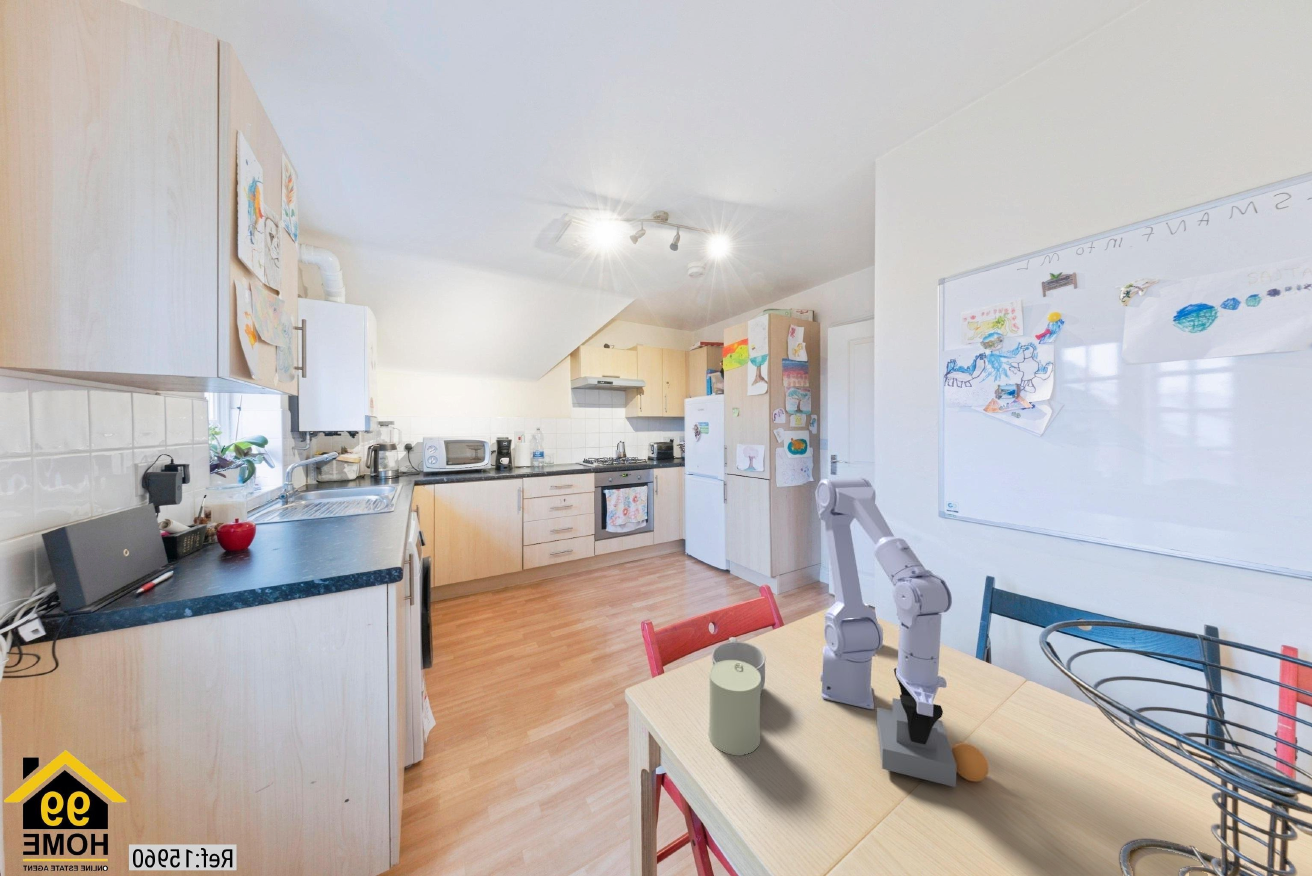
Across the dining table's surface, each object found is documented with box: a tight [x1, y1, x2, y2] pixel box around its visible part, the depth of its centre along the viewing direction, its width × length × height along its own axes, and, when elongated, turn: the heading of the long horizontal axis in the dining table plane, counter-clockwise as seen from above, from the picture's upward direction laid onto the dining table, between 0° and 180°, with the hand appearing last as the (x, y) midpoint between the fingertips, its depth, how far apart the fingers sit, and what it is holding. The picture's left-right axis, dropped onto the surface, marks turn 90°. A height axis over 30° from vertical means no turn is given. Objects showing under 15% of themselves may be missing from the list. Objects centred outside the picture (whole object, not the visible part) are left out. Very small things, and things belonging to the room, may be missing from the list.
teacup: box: [711, 636, 766, 693], centre depth 94 cm, size 14×11×8 cm
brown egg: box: [951, 742, 989, 783], centre depth 71 cm, size 5×5×5 cm
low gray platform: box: [876, 697, 957, 788], centre depth 74 cm, size 10×10×7 cm
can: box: [707, 660, 761, 756], centre depth 80 cm, size 9×9×12 cm
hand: (914, 728), depth 74 cm, fingers closed on low gray platform, 6 cm apart
